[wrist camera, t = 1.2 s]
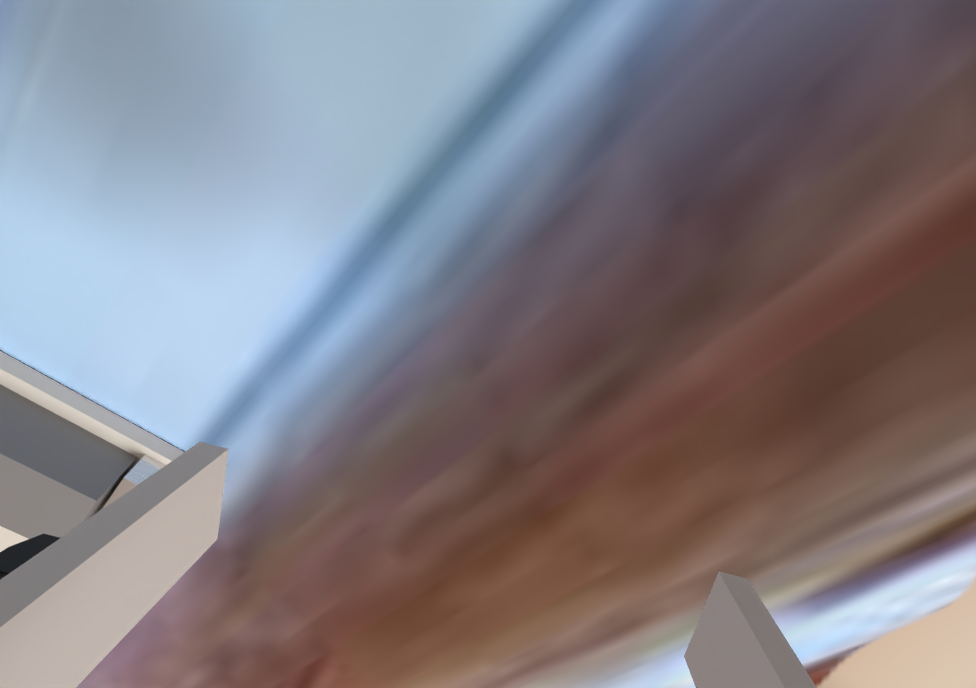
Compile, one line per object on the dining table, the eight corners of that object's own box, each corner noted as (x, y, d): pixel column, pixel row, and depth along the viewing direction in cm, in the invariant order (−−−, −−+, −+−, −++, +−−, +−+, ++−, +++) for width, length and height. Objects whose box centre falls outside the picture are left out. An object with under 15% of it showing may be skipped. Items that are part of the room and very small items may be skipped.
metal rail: (7, 653, 38) (-17, 681, 36) (145, 454, 30) (123, 477, 28) (28, 661, 38) (5, 689, 36) (170, 467, 30) (150, 491, 28)
